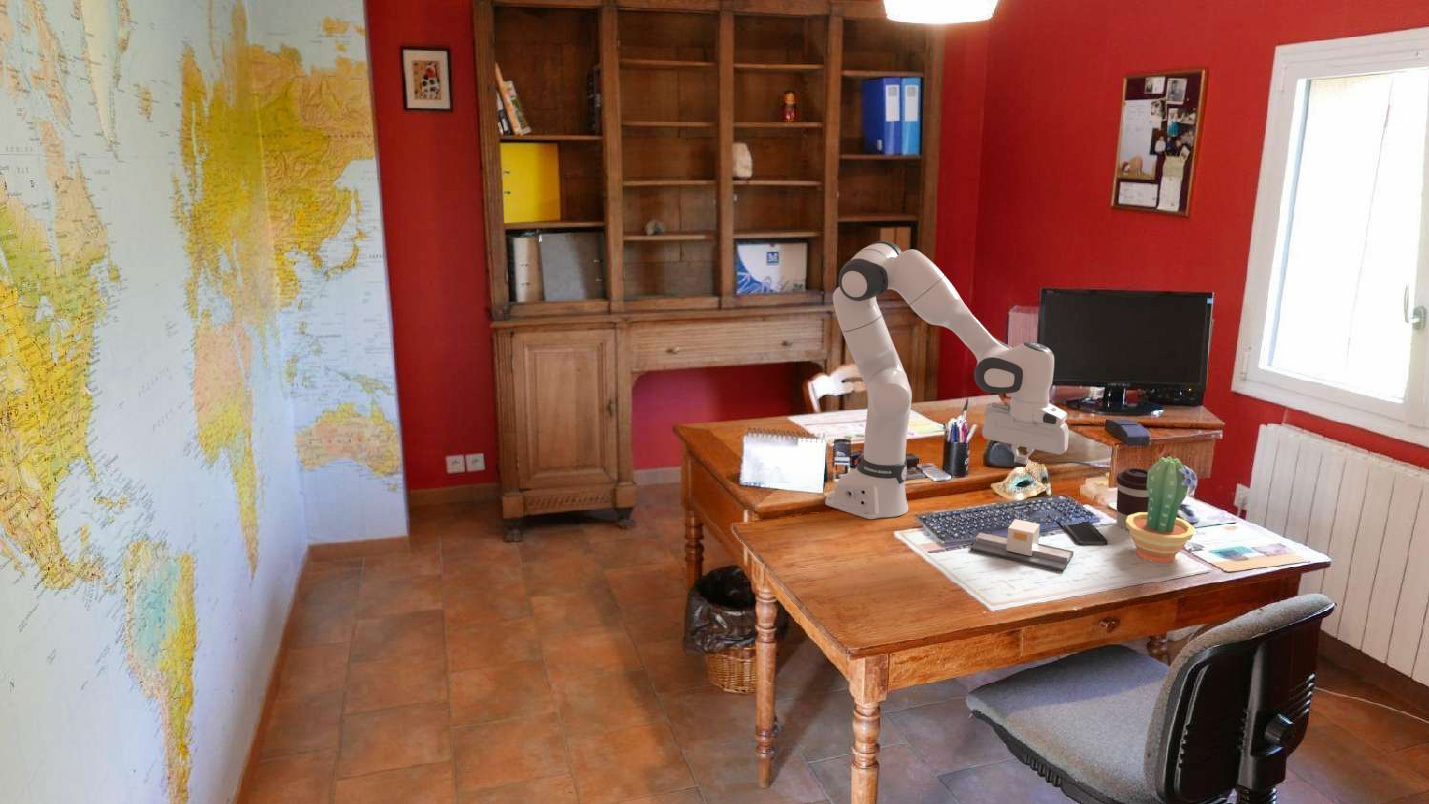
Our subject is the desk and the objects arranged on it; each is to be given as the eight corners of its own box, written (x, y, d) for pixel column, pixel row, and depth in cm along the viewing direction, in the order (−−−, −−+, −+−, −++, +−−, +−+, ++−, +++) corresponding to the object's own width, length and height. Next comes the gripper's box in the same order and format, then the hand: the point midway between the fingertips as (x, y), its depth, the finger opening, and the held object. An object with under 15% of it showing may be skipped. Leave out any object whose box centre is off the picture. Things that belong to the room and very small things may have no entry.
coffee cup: (1158, 534, 249) (1166, 479, 244) (1119, 533, 249) (1126, 478, 244) (1142, 518, 258) (1150, 465, 254) (1105, 518, 258) (1112, 465, 254)
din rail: (970, 551, 239) (971, 542, 238) (983, 535, 248) (984, 527, 247) (1062, 572, 228) (1063, 564, 227) (1073, 555, 237) (1074, 546, 236)
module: (1005, 550, 236) (1007, 528, 234) (1013, 541, 241) (1015, 519, 240) (1030, 556, 233) (1033, 533, 231) (1037, 546, 238) (1040, 524, 237)
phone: (1078, 542, 242) (1057, 517, 256) (1077, 546, 242) (1056, 521, 257) (1109, 542, 242) (1087, 518, 256) (1109, 546, 242) (1086, 522, 257)
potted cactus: (1150, 572, 228) (1164, 472, 221) (1108, 544, 242) (1120, 450, 235) (1205, 564, 232) (1221, 466, 225) (1160, 538, 246) (1174, 444, 239)
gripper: (982, 403, 238) (975, 456, 242) (1068, 420, 228) (1059, 475, 232) (990, 398, 243) (983, 449, 248) (1074, 414, 233) (1065, 468, 237)
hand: (1020, 462), depth 240 cm, fingers closed
